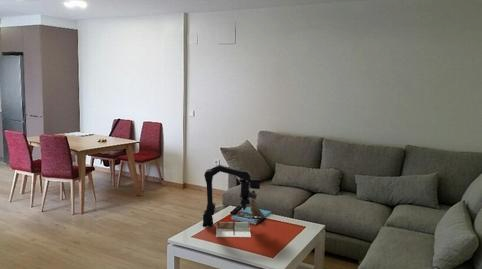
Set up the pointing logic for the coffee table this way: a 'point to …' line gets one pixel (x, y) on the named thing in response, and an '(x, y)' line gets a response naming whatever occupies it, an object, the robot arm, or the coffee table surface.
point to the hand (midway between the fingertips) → (244, 209)
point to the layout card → (233, 232)
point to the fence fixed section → (225, 225)
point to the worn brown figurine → (255, 209)
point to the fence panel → (242, 225)
